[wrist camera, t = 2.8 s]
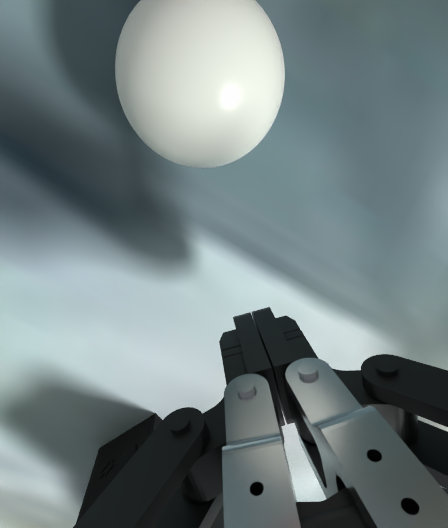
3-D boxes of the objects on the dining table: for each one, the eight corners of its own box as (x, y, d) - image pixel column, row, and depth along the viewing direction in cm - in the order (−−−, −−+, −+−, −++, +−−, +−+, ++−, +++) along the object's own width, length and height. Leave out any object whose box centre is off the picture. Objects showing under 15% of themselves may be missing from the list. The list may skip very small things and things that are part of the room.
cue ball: (249, -3, 13) (287, -101, 8) (277, 144, 15) (322, 146, 10) (110, 35, 13) (56, -36, 8) (156, 178, 15) (137, 197, 10)
